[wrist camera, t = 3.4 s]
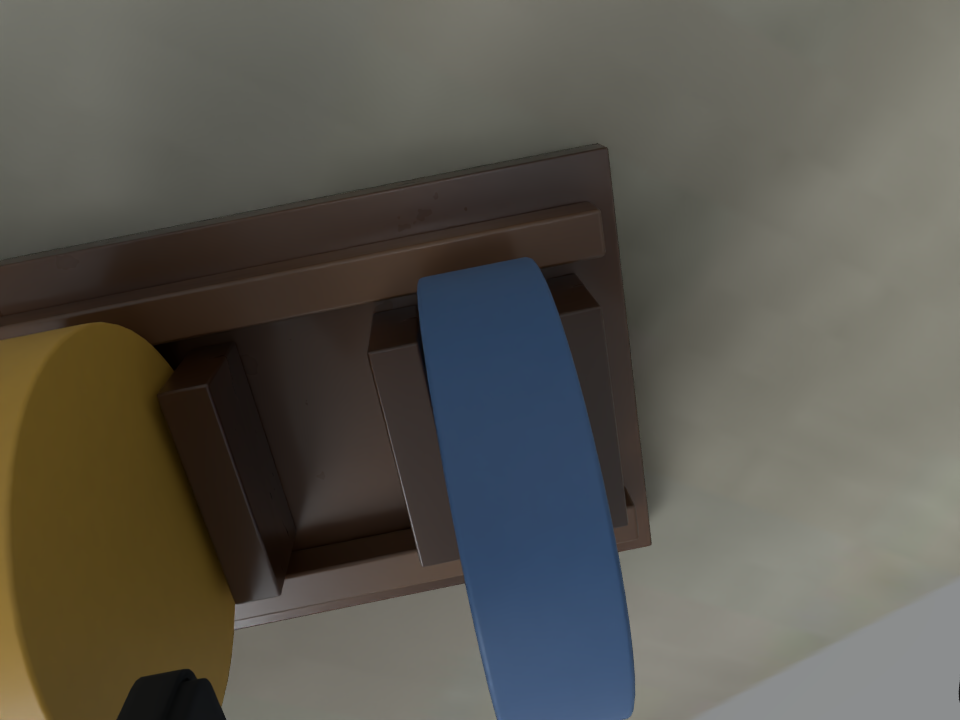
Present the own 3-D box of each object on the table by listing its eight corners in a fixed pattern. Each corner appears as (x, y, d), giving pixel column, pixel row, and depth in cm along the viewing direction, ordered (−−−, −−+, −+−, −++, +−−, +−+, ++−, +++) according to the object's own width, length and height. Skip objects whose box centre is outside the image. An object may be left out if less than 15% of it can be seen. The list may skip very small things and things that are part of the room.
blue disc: (482, 547, 19) (528, 863, 11) (414, 234, 16) (418, 388, 8) (560, 531, 19) (658, 838, 11) (508, 216, 16) (595, 352, 8)
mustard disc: (180, 616, 18) (4, 962, 11) (66, 299, 16) (-264, 452, 8) (261, 600, 18) (143, 933, 11) (159, 281, 16) (-84, 416, 8)
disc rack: (-164, 691, 20) (-266, 803, 17) (-401, 338, 16) (-587, 402, 13) (643, 528, 20) (684, 609, 17) (599, 142, 16) (641, 161, 13)
